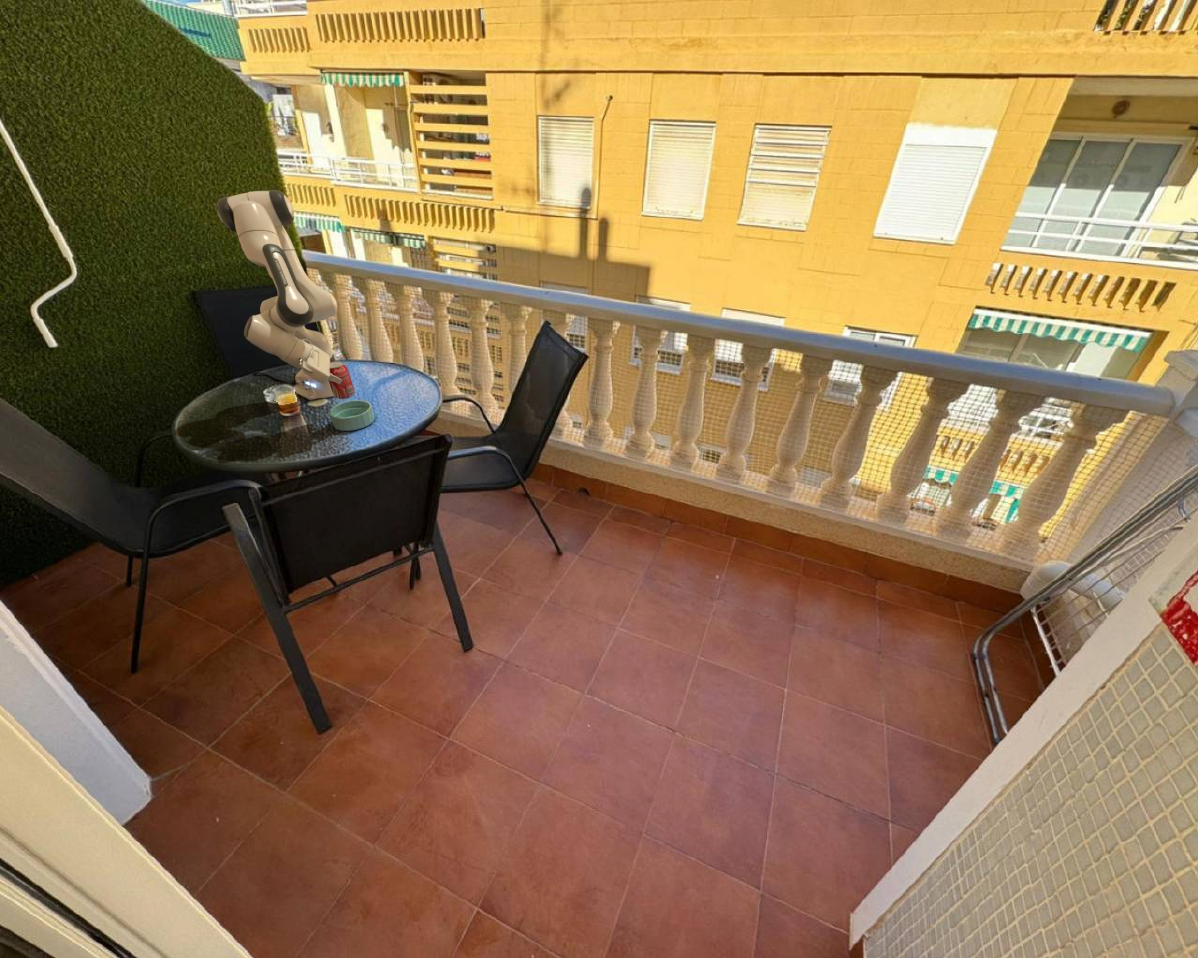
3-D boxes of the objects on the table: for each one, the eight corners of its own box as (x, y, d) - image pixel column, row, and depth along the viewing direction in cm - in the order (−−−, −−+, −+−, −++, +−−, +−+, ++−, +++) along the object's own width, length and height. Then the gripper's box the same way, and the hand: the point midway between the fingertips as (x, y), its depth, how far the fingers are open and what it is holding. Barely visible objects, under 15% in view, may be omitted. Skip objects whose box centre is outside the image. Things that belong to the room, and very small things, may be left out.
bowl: (325, 426, 181) (320, 413, 178) (355, 410, 192) (351, 397, 189) (353, 435, 176) (348, 421, 173) (383, 417, 187) (379, 404, 184)
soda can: (338, 392, 180) (327, 360, 173) (358, 391, 181) (348, 360, 174) (331, 401, 174) (320, 368, 167) (352, 400, 175) (341, 368, 168)
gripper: (303, 357, 156) (346, 381, 165) (306, 337, 172) (345, 359, 180) (293, 373, 157) (336, 396, 166) (296, 351, 173) (335, 373, 182)
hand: (340, 377), depth 174 cm, fingers closed on soda can, 7 cm apart
